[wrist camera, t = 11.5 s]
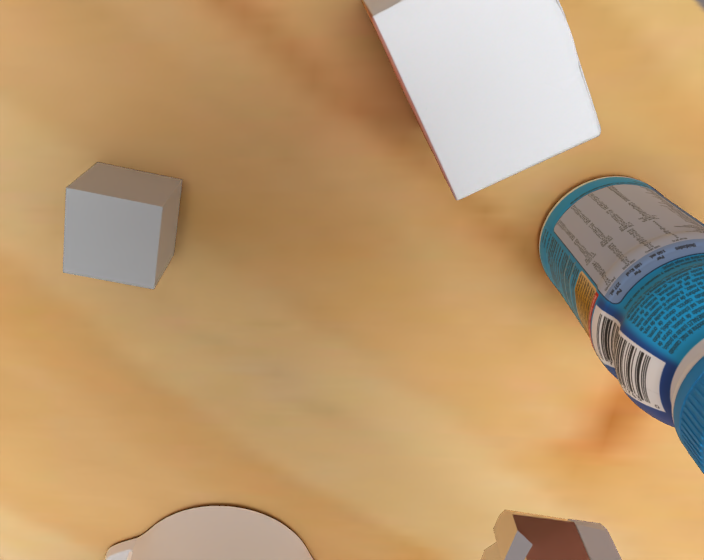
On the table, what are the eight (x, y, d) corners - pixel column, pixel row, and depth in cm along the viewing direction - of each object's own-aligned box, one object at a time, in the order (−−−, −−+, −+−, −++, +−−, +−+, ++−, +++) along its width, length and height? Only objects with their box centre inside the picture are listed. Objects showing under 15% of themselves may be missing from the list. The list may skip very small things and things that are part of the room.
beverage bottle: (588, 145, 38) (807, 303, 20) (697, 209, 40) (987, 406, 22) (507, 261, 42) (635, 486, 24) (612, 315, 43) (805, 562, 25)
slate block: (174, 254, 41) (153, 289, 37) (93, 238, 41) (62, 272, 36) (183, 179, 39) (162, 206, 35) (97, 161, 39) (66, 187, 34)
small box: (357, -3, 35) (366, 12, 23) (467, -64, 34) (535, -81, 22) (420, 132, 38) (456, 205, 26) (523, 80, 37) (608, 133, 25)
